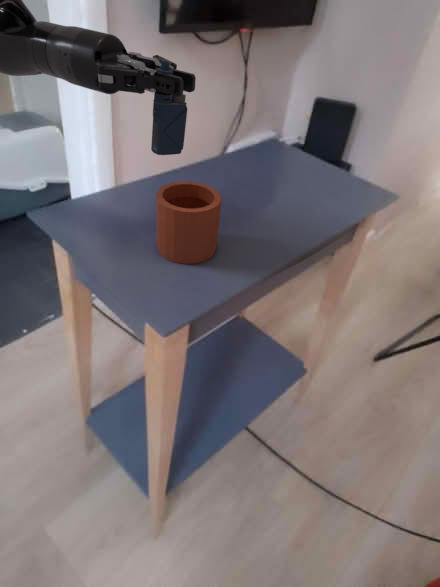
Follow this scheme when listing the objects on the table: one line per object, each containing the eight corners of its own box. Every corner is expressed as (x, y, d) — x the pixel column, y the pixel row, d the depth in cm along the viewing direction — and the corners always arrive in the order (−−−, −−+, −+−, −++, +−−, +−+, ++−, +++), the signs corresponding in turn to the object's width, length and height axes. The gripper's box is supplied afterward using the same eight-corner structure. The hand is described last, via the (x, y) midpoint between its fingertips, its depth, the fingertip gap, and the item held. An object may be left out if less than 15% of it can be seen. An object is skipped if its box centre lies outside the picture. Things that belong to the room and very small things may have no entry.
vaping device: (147, 150, 59) (152, 59, 52) (176, 148, 62) (185, 62, 55) (155, 156, 58) (161, 63, 50) (185, 154, 60) (195, 66, 53)
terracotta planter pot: (196, 271, 65) (199, 219, 59) (144, 249, 68) (142, 197, 62) (226, 243, 72) (232, 193, 66) (178, 224, 76) (179, 175, 69)
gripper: (45, 32, 50) (157, 59, 45) (117, 25, 60) (216, 47, 54) (55, 96, 55) (157, 127, 50) (120, 80, 64) (211, 105, 59)
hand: (187, 85), depth 52 cm, fingers closed on vaping device, 2 cm apart
